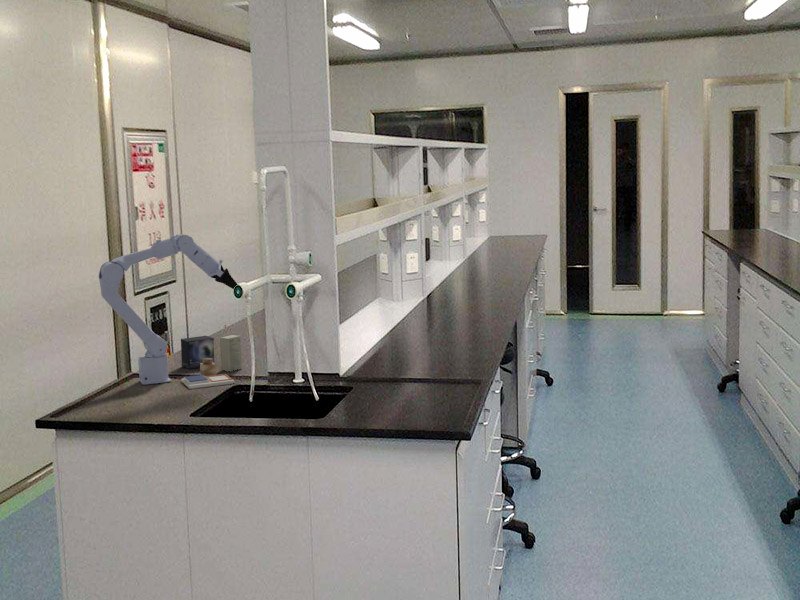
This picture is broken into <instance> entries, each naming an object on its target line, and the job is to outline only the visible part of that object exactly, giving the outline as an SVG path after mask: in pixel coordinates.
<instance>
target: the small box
mask: <svg viewBox="0 0 800 600" xmlns="http://www.w3.org/2000/svg"><path fill="white" fill-rule="evenodd" d="M214 344H215V343H214V337H212V336H208V335H200V336H192V337H185V338H180V351H181V352H180V353H181V354H180V355H181V367H183V368H184V369H187V370H188V369H189V370H193V369H198V368H199V369H200V363H203V359H205V358H212V362H214V363H215V345H214Z"/></svg>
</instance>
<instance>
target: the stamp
mask: <svg viewBox="0 0 800 600" xmlns="http://www.w3.org/2000/svg"><path fill="white" fill-rule="evenodd" d="M199 370H200V372H199V373H200V375H204V376H210V375H217V364H216V363H215V361H214V362H212V358H205V359H203V363H200V367H199Z"/></svg>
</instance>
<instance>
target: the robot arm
mask: <svg viewBox="0 0 800 600" xmlns="http://www.w3.org/2000/svg"><path fill="white" fill-rule="evenodd" d="M179 252H181V253H183V254H184V255H185V256H186V257H187V259H189V261H191V262H192V263H193V264H195V265H196V266H197V267H198V268H200V269H201V271H203V272H204V273H205V274H206V275H207V276H208V277H210V278H211V279H214V281H215V282H217V283H221V284H223V285H225V286H226V287H228V288H231V289H232V290H235V289H234V287H235V286H236V285H237V286H238V283H237V282H236V281H235V279H234V278H233V276H232V275H231V273H230V271H229V270H228V268H226V267H225V268H224V267H223V265H222V263H223V261H224V260H222V259H219V260H217V259H216V258H214V257H213V256H212V255H211V254H210V253H209V252H208V251H207V250H205V249H204V248H203V247H202V246H201V245H199V244H198V243H197V242H196V241H194V239H193V237H192V236H190V235H187V234H184V233H183V234H181V233H180V234H176V235H171V236H170V238H169V237H168V238H166V239H163V240H161V239H156V241H155V242H154V243H152V245H151V246H150V248H145V249H142V250H139V251H135V252H132V253H128V254H124V255H120V256H118V257H115V258H113V259H111V261H105V262H104V263H103V264H102V265H101V266H100V268H99V272H98V281H99V287H100V295H101V297H102V298H103V299H104V301H105V302H106V304H108V305H109V306H110V307H111V308H112V309H113V311H115V312H116V314H117V315H118V316H119V317H120V319H122V320H123V321H124V323H126V324H127V326H128V327H129V328H130V329H131V330H132V331H133V332H134V333H135V335H136V336H137V337H139V339H140V340H141V341H142V342H143V343H142V344H143V347H144V348H145V350H146V352H145V354H144V356H140V357H138V360H137V361H138V364H137V365H138V376H139V378H138V379H139V382H140V383H141V385H143V386H145V385H153V384H159V383H160V384H163V383H170V382H172V381H173V380H172V379H171V378H170V377H169V363H168V362H169V361H168V353H167V350H168V343H167V341H166V339H164V338H162V337H161V336H160V335H159V334H156V333H155V332H154V331H153V330H152V329H151V328H150V327H149V326H148V325H147V323H145V322H144V320H143V319H142V318H141V317H140V316H139V314H137V313H136V312H135V310H134V309H133V308H132V307H131V306H130V304H129V303H127V302H126V301H125V299H123V297H122V296H121V295H120V294H119V286H120V284H121V281H122V279H123V277H124V271H125V272H127V271H129V269H130V267H131V266H132V265H135V264H138V263H141V262H144V261H147V260H149V259H152V258H156V259H157V260H161V259H165V258H169V257H172V256H175V255H177V254H178V253H179ZM237 286H236V287H237Z"/></svg>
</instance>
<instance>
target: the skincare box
mask: <svg viewBox="0 0 800 600" xmlns="http://www.w3.org/2000/svg"><path fill="white" fill-rule="evenodd" d="M219 343H220V345H219V346H220V360H221V361H220V362H221V364H220V366H221V371H223V370H225V371H224V372H228V371H230V372H234V371H237V369H238V370H241V369H243V362H242V361H243V360H242V340H241V335H235V334H231V335H230V334H229V335H225V336H221V337H219ZM233 370H234V371H233Z"/></svg>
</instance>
